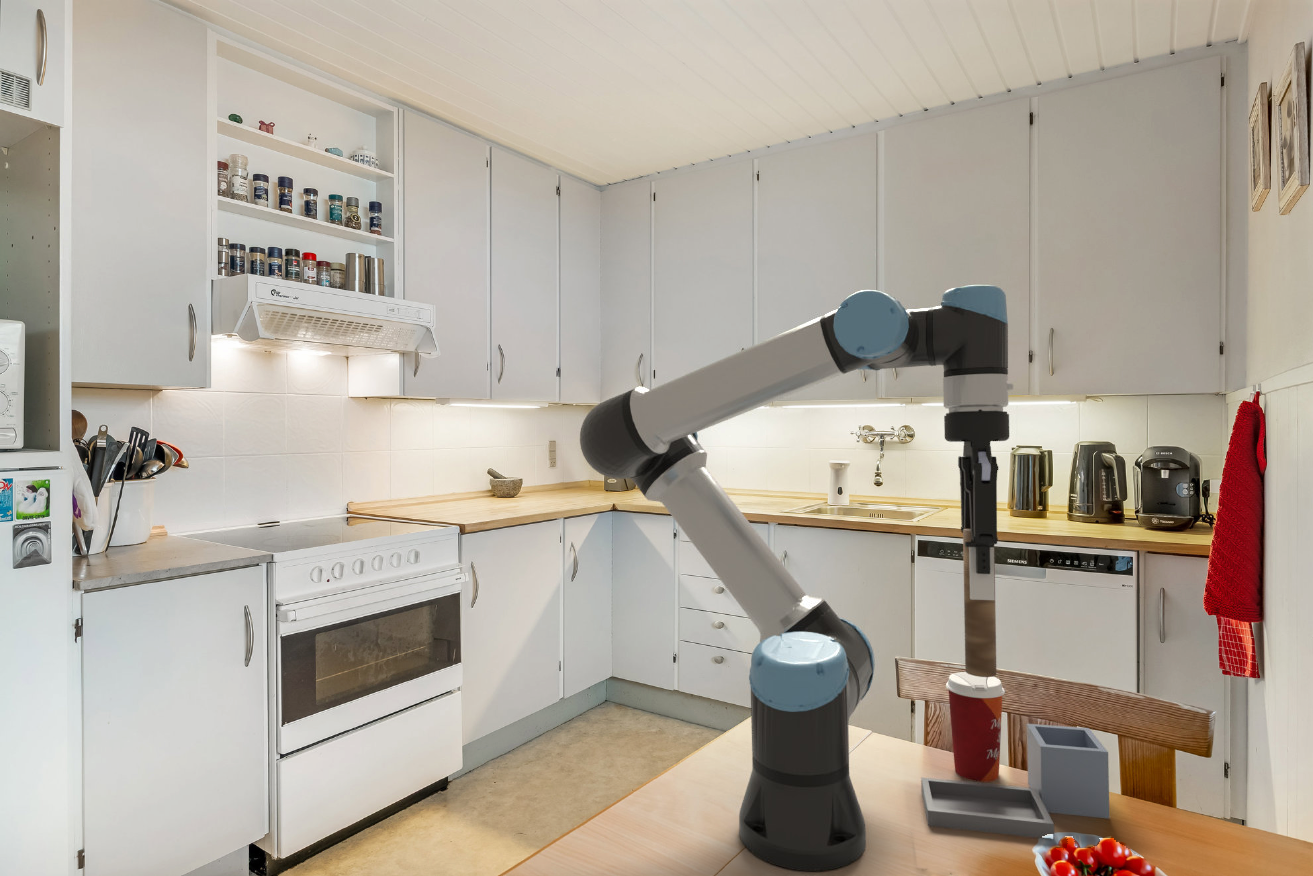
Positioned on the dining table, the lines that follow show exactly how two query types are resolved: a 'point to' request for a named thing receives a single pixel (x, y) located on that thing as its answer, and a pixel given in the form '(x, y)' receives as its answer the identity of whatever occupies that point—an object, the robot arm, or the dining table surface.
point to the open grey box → (1068, 770)
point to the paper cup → (976, 725)
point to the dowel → (978, 626)
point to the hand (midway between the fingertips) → (979, 595)
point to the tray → (985, 808)
